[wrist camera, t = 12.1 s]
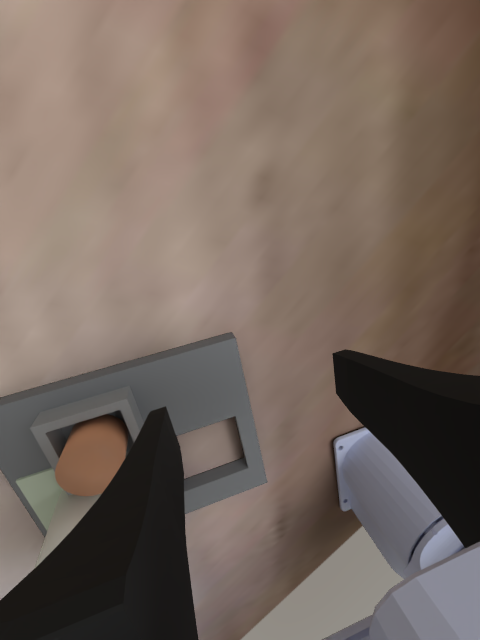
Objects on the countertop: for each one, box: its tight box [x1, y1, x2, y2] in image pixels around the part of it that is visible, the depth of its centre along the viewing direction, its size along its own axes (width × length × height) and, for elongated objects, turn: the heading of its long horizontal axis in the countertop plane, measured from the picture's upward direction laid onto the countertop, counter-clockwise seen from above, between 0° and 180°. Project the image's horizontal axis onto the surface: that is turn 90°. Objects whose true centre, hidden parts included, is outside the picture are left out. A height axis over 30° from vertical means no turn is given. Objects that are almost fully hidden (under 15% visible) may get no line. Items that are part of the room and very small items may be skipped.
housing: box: [0, 332, 267, 537], centre depth 21 cm, size 14×17×3 cm
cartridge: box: [35, 489, 102, 568], centre depth 19 cm, size 4×4×6 cm
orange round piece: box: [55, 414, 128, 496], centre depth 18 cm, size 4×4×3 cm
